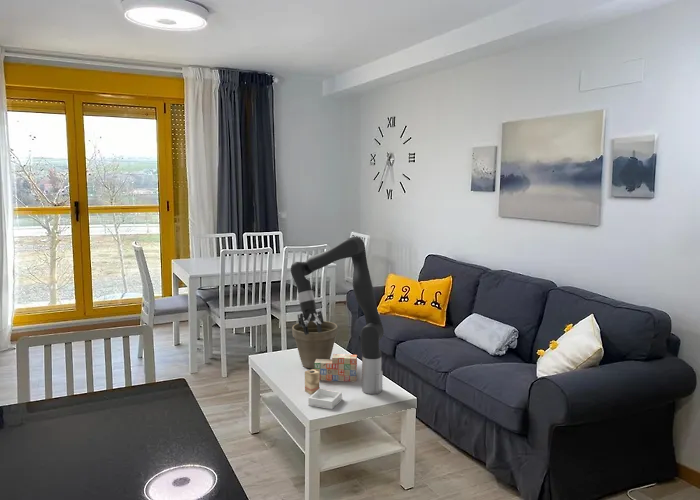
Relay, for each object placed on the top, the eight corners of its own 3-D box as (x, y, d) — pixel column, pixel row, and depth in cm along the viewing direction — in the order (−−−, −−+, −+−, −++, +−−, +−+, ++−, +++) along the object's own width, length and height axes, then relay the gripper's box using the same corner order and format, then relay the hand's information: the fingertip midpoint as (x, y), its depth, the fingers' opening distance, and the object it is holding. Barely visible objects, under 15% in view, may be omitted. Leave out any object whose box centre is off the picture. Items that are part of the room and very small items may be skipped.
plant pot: (286, 360, 311) (286, 322, 308) (328, 354, 320) (327, 318, 317) (300, 375, 288) (300, 334, 285) (344, 368, 297) (344, 329, 294)
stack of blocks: (314, 380, 281) (314, 356, 279) (316, 375, 287) (315, 352, 286) (356, 381, 279) (356, 358, 278) (357, 377, 286) (357, 354, 284)
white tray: (341, 399, 257) (341, 392, 257) (331, 409, 247) (331, 401, 246) (319, 395, 261) (319, 388, 261) (308, 405, 251) (308, 397, 250)
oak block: (313, 388, 270) (313, 368, 268) (319, 392, 266) (319, 371, 264) (304, 391, 267) (304, 371, 265) (310, 394, 263) (310, 374, 261)
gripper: (301, 300, 265) (307, 333, 262) (322, 298, 276) (329, 330, 273) (291, 303, 270) (297, 336, 267) (312, 301, 281) (319, 333, 278)
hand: (313, 333), depth 270 cm, fingers open, 8 cm apart
